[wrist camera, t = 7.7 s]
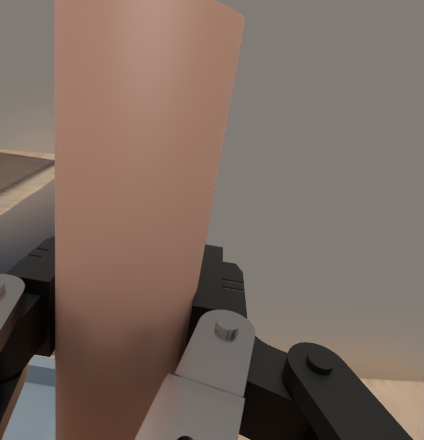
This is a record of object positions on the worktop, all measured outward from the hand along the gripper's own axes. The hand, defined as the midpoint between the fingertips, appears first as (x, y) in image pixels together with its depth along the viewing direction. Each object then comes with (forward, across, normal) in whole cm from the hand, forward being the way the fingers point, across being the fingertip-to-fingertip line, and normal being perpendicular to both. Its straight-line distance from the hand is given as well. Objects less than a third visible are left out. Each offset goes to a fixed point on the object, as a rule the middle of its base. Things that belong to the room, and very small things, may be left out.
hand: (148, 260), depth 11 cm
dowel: (-3, 0, +10) cm, 10 cm away
